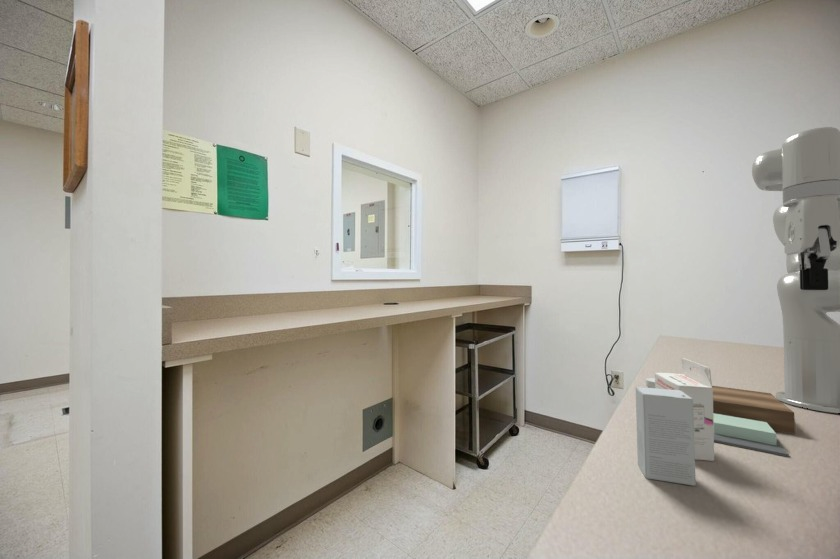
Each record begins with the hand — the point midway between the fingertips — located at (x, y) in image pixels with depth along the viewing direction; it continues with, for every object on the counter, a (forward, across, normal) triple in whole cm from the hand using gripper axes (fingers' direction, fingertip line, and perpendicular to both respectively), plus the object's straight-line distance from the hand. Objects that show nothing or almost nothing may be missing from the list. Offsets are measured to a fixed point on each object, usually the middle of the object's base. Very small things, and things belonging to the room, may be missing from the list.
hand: (813, 289), depth 64 cm
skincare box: (+27, +35, -25) cm, 51 cm away
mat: (+27, +11, -14) cm, 33 cm away
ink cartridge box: (+27, +23, -22) cm, 42 cm away
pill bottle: (+27, +12, -25) cm, 39 cm away
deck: (+27, -3, -12) cm, 30 cm away
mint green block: (+25, +11, -13) cm, 30 cm away
